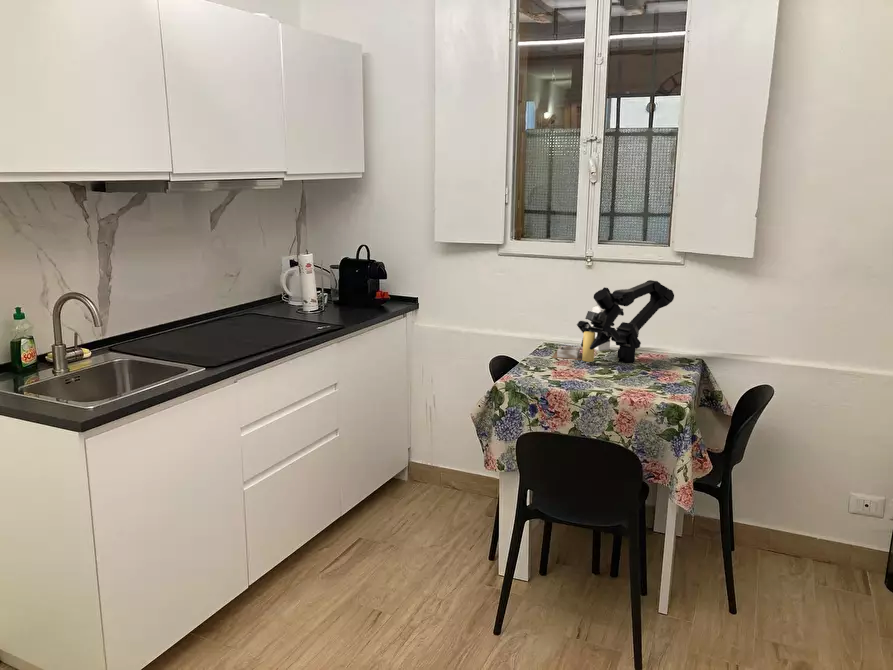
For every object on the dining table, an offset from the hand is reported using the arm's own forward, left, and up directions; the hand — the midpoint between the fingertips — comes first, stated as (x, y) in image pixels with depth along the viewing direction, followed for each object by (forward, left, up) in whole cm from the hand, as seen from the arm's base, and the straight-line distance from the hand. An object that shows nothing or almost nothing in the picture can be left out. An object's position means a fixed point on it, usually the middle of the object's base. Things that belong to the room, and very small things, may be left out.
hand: (586, 347), depth 274 cm
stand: (+8, -13, -8) cm, 17 cm away
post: (-1, -1, -5) cm, 5 cm away
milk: (-3, -32, -8) cm, 33 cm away
